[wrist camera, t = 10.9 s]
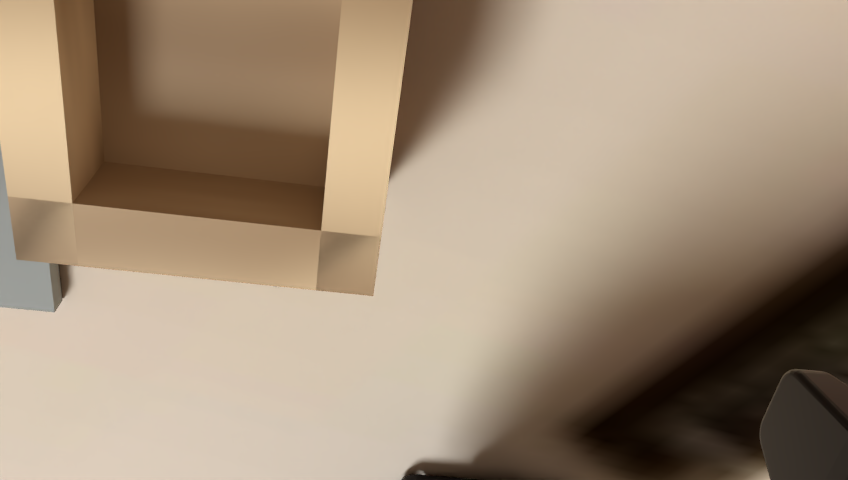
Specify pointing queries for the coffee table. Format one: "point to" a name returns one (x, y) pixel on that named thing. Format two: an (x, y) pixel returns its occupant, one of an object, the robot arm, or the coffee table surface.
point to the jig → (203, 135)
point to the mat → (23, 269)
